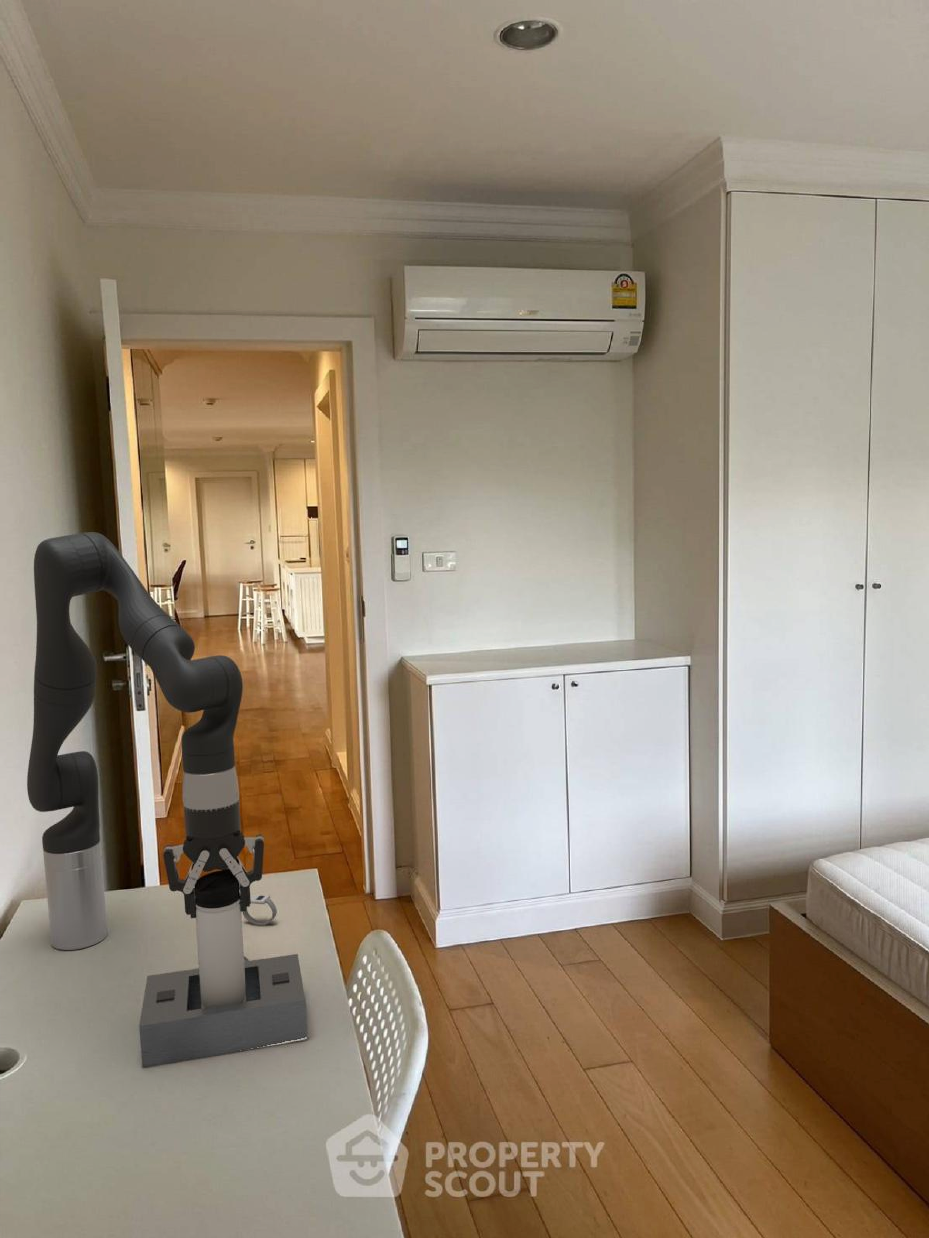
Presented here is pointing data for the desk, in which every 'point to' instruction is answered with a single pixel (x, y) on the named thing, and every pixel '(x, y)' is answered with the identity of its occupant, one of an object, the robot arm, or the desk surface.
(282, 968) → the grey slotted block
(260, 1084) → the desk surface
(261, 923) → the wristwatch
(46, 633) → the robot arm
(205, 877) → the travel mug
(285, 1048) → the desk surface
